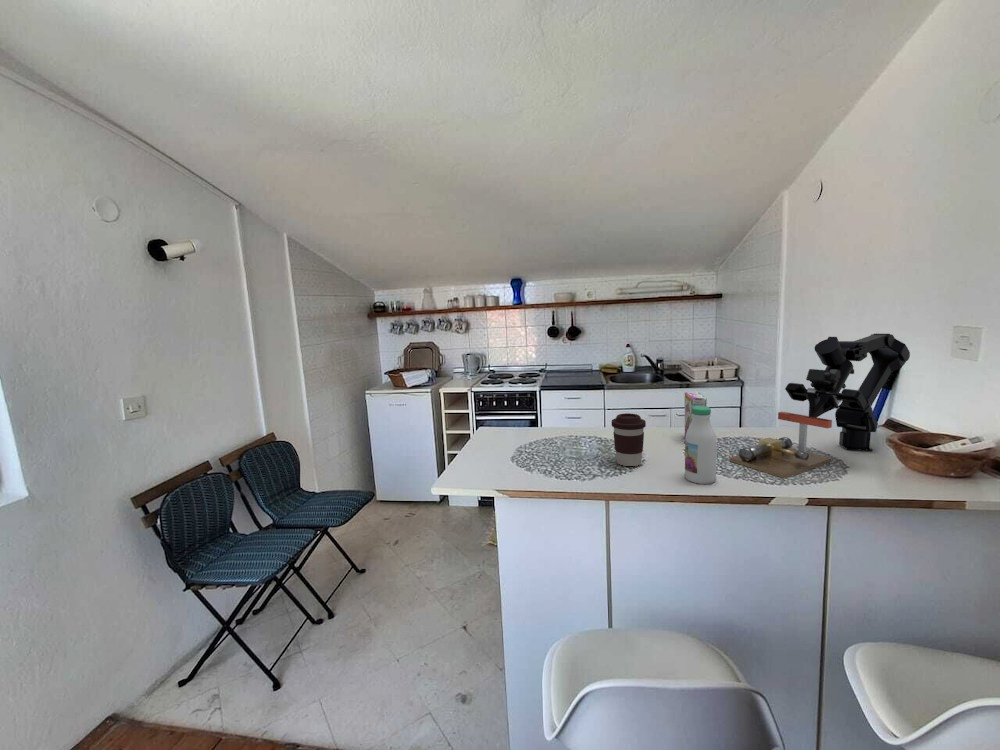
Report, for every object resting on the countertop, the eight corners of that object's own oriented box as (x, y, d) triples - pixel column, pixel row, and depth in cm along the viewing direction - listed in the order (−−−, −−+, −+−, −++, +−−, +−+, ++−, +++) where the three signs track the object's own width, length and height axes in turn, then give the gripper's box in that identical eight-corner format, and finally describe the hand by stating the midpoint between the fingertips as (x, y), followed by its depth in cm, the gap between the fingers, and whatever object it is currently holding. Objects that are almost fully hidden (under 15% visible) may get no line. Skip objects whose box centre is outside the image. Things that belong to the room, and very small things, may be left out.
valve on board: (774, 448, 136) (775, 432, 135) (831, 462, 122) (832, 445, 121) (729, 461, 127) (729, 444, 126) (784, 478, 112) (785, 459, 112)
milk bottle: (713, 475, 117) (715, 404, 115) (718, 485, 110) (719, 411, 107) (683, 472, 120) (684, 404, 117) (686, 483, 113) (686, 410, 110)
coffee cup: (647, 459, 132) (647, 412, 130) (644, 470, 123) (643, 420, 121) (615, 456, 136) (614, 411, 134) (609, 467, 127) (608, 418, 125)
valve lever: (780, 452, 127) (782, 411, 125) (829, 465, 115) (832, 420, 113) (776, 453, 126) (777, 412, 124) (825, 466, 114) (827, 421, 112)
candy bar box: (683, 436, 154) (683, 392, 152) (698, 436, 153) (698, 391, 151) (690, 445, 143) (691, 398, 141) (706, 445, 142) (707, 398, 140)
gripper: (790, 356, 129) (766, 396, 125) (864, 360, 112) (838, 407, 109) (804, 379, 133) (781, 418, 130) (877, 386, 116) (853, 432, 113)
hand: (810, 418), depth 120 cm, fingers closed
